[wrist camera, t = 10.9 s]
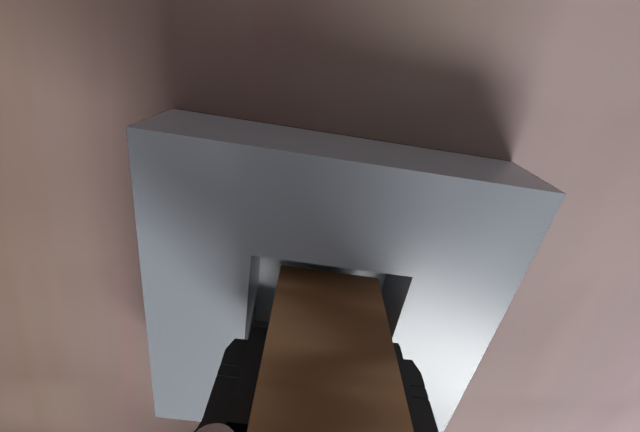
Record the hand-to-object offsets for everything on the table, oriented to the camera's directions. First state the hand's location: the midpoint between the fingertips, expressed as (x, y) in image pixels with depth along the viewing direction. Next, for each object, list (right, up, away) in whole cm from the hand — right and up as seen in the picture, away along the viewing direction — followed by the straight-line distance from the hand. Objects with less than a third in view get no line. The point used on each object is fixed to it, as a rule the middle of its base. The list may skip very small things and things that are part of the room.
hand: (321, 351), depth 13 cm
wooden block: (0, +1, +2) cm, 2 cm away
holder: (0, +2, +4) cm, 5 cm away
